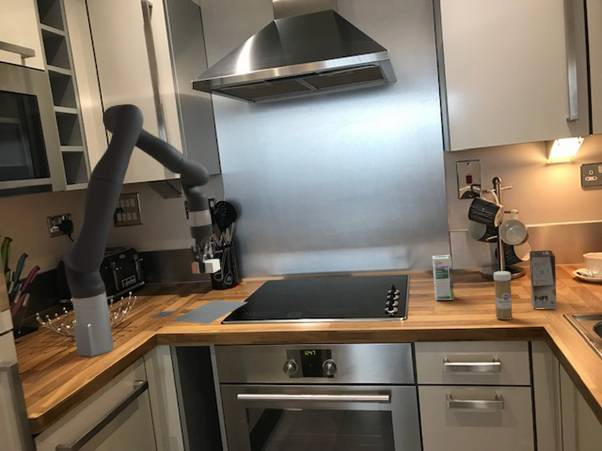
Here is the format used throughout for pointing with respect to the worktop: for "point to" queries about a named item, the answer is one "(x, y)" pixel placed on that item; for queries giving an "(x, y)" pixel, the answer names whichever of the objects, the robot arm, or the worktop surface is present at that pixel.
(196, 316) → the mat
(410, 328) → the worktop surface
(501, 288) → the sprinkles bottle
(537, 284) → the coffee box
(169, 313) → the smartphone
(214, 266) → the card box
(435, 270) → the syrup box
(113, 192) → the robot arm
